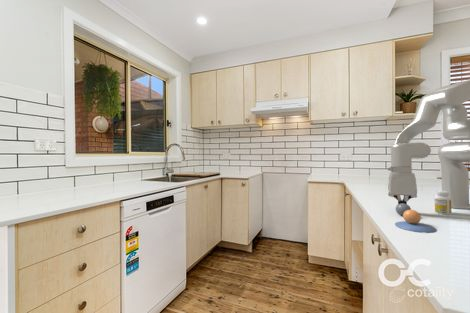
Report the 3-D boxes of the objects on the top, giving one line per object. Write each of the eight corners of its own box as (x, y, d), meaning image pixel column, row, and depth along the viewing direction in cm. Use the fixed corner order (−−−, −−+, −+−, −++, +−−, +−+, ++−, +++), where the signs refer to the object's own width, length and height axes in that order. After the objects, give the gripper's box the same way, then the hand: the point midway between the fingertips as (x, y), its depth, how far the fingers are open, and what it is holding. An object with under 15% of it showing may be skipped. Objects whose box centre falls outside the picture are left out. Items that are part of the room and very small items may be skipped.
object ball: (402, 206, 87) (405, 216, 83) (419, 207, 84) (423, 218, 80) (401, 215, 90) (403, 226, 86) (418, 216, 87) (421, 227, 83)
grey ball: (394, 202, 96) (396, 215, 94) (410, 202, 93) (413, 215, 91) (394, 203, 100) (396, 216, 98) (409, 203, 97) (411, 216, 95)
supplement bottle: (444, 211, 100) (443, 190, 99) (455, 214, 94) (454, 192, 94) (431, 211, 100) (431, 190, 100) (441, 214, 95) (441, 192, 95)
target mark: (392, 220, 90) (392, 220, 90) (430, 224, 84) (430, 223, 84) (398, 230, 79) (398, 229, 79) (441, 234, 73) (441, 234, 73)
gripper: (383, 170, 100) (384, 210, 100) (424, 170, 93) (425, 213, 93) (381, 169, 107) (382, 206, 107) (419, 169, 100) (420, 209, 100)
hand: (402, 209), depth 100 cm, fingers closed
